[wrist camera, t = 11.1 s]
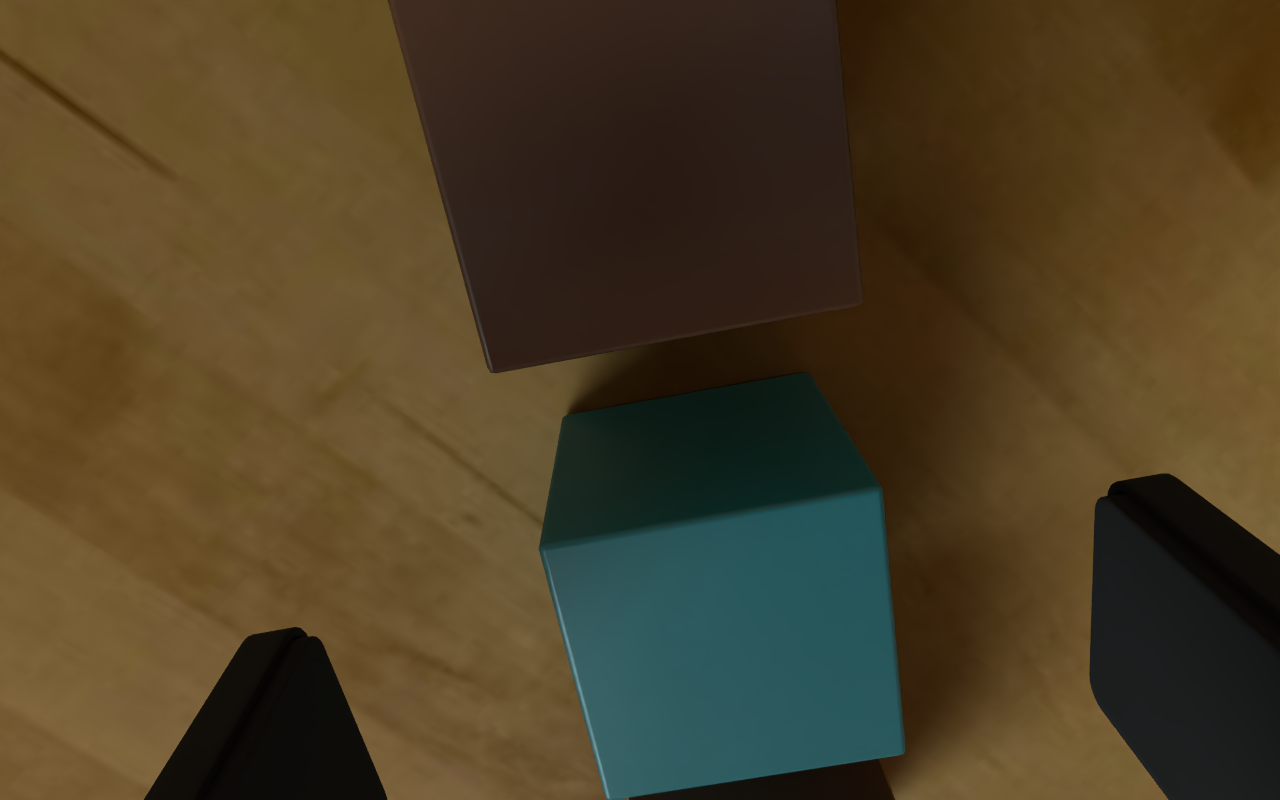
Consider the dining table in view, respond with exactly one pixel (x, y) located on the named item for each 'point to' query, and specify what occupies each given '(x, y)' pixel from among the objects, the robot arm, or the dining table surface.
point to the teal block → (723, 588)
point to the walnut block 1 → (635, 166)
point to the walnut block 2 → (796, 786)
